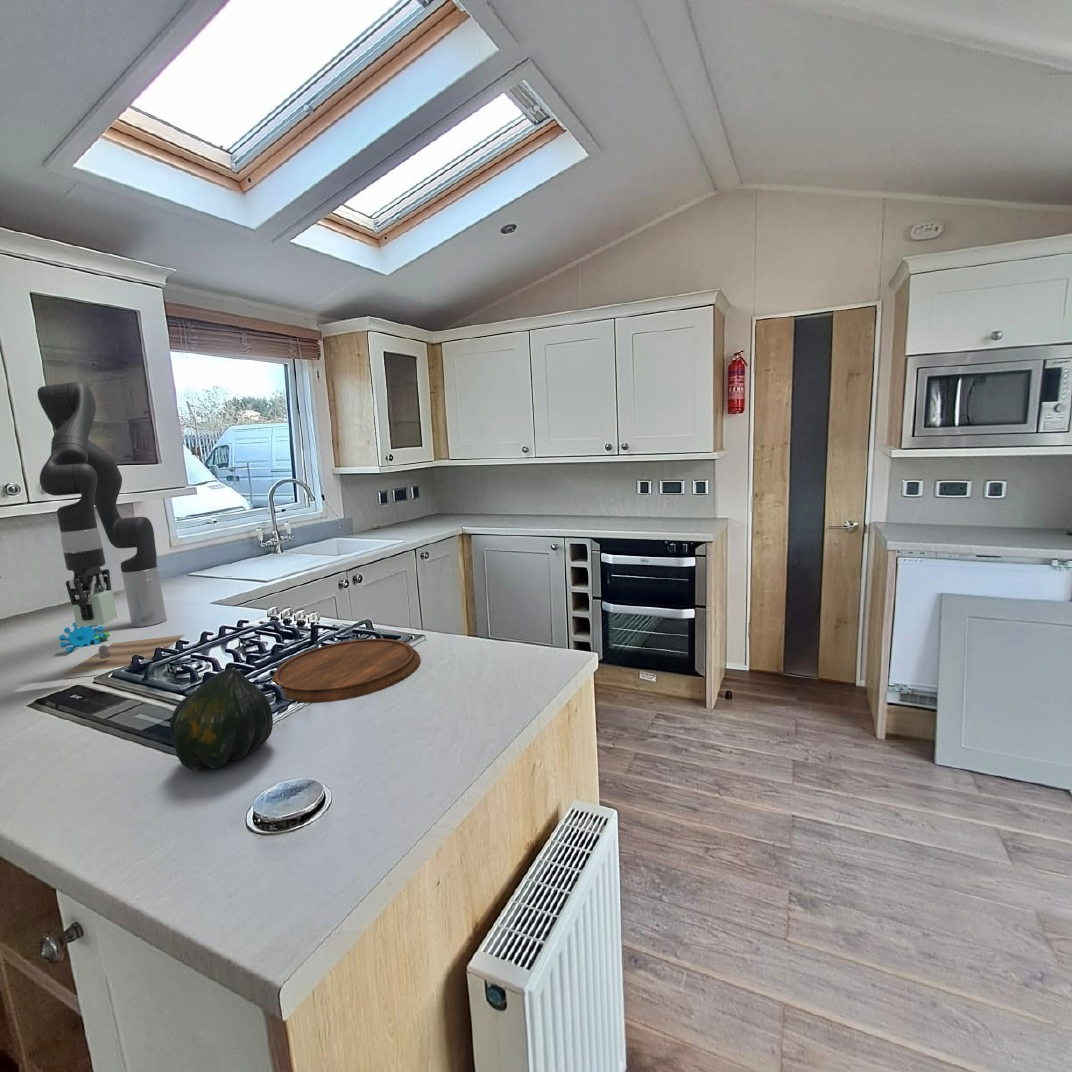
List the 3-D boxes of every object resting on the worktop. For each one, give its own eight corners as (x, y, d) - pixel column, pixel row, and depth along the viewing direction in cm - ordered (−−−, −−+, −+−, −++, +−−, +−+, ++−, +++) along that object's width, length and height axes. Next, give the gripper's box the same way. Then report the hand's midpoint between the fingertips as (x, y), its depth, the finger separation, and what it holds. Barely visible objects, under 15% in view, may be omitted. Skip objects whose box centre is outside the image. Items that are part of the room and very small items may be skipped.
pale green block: (90, 620, 145) (85, 592, 144) (117, 617, 146) (112, 590, 145) (76, 627, 139) (70, 598, 138) (104, 624, 140) (98, 595, 139)
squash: (131, 750, 89) (183, 676, 87) (193, 709, 103) (239, 644, 102) (207, 806, 89) (261, 733, 87) (258, 757, 104) (305, 694, 102)
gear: (53, 652, 154) (63, 619, 160) (60, 662, 158) (69, 630, 164) (103, 650, 158) (111, 617, 164) (109, 660, 162) (116, 628, 168)
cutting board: (234, 697, 121) (232, 685, 121) (336, 643, 151) (334, 634, 150) (363, 711, 110) (361, 698, 109) (446, 650, 139) (444, 640, 139)
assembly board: (114, 648, 159) (110, 629, 158) (186, 640, 162) (182, 620, 161) (65, 679, 138) (60, 657, 137) (148, 669, 140) (144, 647, 140)
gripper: (83, 545, 146) (95, 610, 149) (46, 555, 132) (60, 626, 135) (116, 542, 147) (128, 606, 150) (82, 551, 133) (96, 622, 136)
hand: (96, 616), depth 142 cm, fingers closed on pale green block, 6 cm apart
